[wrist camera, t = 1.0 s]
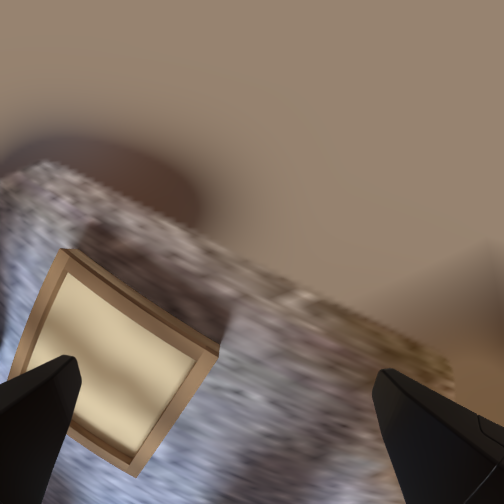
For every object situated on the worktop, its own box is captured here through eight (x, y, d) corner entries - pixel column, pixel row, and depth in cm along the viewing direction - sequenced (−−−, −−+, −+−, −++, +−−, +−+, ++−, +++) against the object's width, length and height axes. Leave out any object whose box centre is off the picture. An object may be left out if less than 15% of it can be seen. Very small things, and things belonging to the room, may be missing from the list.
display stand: (143, 458, 22) (136, 478, 19) (24, 373, 21) (6, 383, 18) (220, 344, 23) (218, 357, 20) (78, 249, 22) (59, 248, 19)
